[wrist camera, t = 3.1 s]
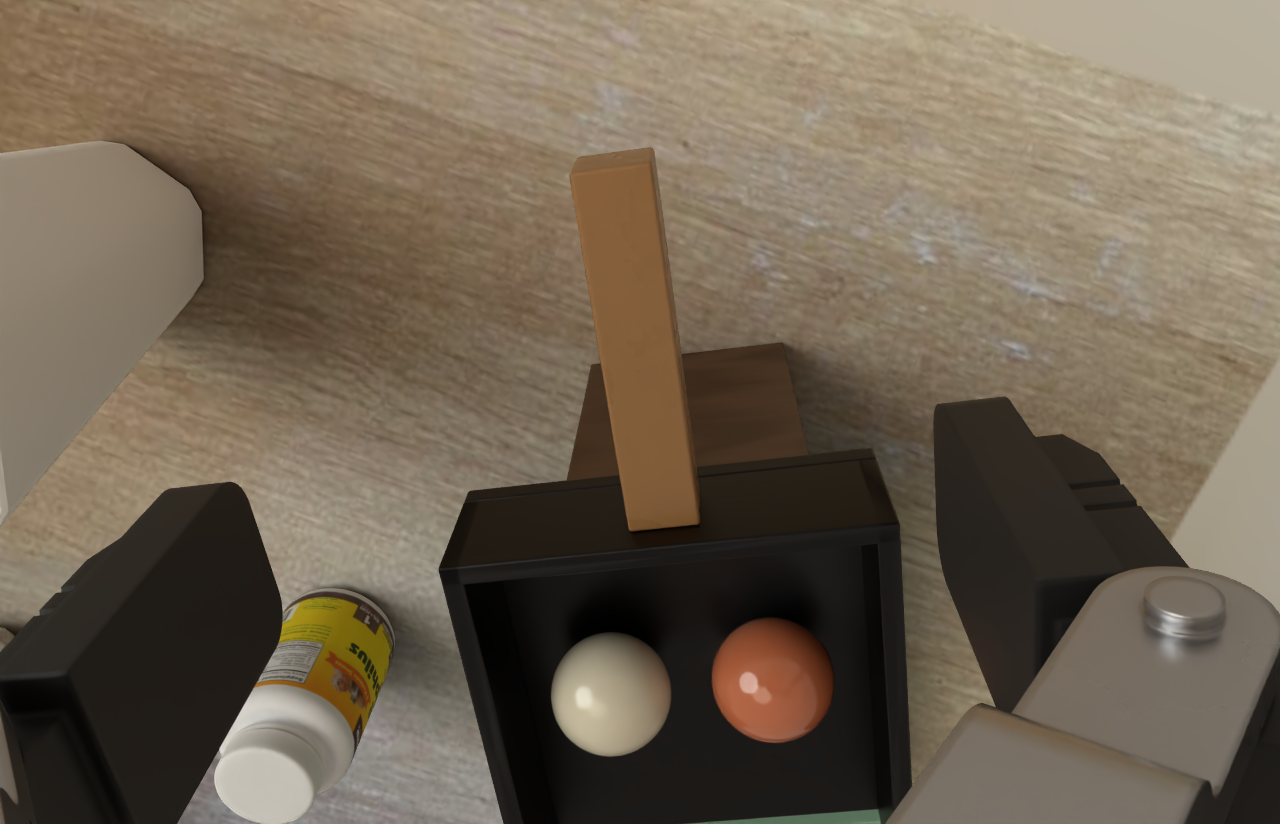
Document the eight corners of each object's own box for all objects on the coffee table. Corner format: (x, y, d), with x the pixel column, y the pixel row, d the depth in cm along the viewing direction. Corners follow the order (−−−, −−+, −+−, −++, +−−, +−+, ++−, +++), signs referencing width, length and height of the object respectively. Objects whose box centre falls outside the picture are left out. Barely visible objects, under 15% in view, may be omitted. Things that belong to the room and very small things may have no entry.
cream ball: (664, 602, 27) (661, 676, 24) (679, 698, 28) (678, 778, 25) (548, 613, 27) (532, 688, 24) (567, 707, 28) (555, 788, 26)
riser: (782, 341, 44) (840, 587, 27) (790, 429, 45) (849, 709, 29) (590, 364, 44) (536, 616, 28) (605, 449, 46) (561, 734, 30)
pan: (853, 108, 22) (882, 138, 19) (892, 792, 30) (917, 898, 27) (392, 170, 23) (345, 210, 20) (545, 819, 31) (528, 925, 28)
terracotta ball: (822, 587, 27) (838, 660, 24) (831, 684, 28) (846, 765, 25) (703, 598, 27) (705, 672, 24) (716, 694, 28) (719, 775, 25)
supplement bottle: (406, 677, 52) (345, 842, 42) (294, 678, 52) (208, 842, 43) (390, 580, 49) (321, 732, 40) (272, 581, 50) (177, 733, 40)
